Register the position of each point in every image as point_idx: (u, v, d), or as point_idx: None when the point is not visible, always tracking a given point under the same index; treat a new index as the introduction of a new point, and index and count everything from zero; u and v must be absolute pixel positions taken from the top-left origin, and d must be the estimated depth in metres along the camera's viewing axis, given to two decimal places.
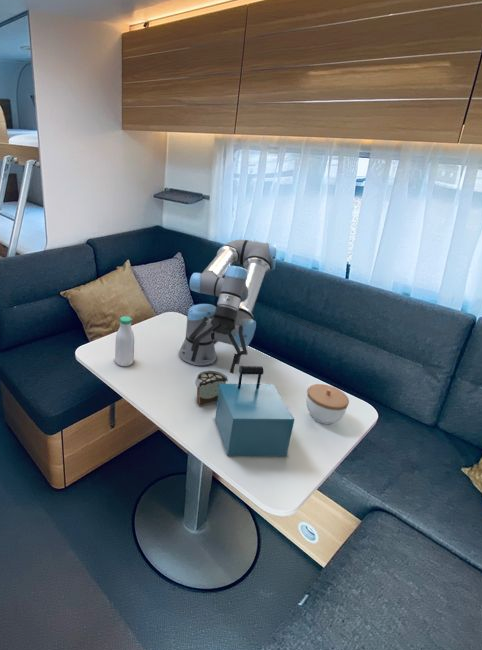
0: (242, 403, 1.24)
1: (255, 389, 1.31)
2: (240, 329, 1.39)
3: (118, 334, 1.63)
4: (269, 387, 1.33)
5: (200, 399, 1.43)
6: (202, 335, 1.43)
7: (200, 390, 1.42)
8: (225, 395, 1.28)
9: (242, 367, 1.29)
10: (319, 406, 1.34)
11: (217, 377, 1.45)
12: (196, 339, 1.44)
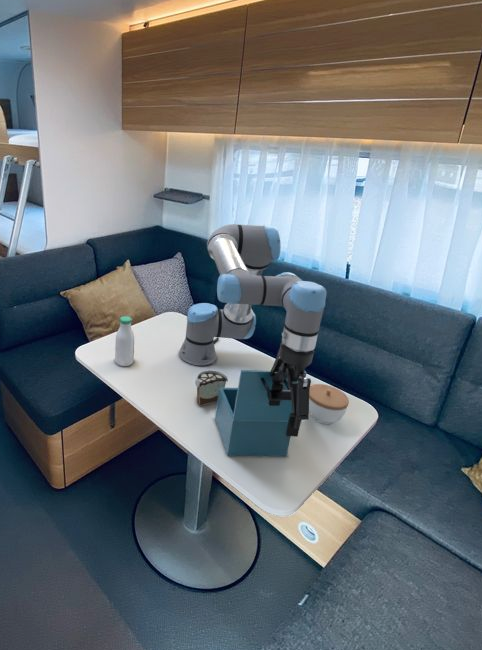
0: (253, 401, 1.15)
1: None
2: (298, 384, 0.95)
3: (118, 334, 1.63)
4: None
5: (200, 399, 1.43)
6: (276, 376, 1.07)
7: (200, 390, 1.42)
8: (240, 390, 1.14)
9: (272, 399, 1.05)
10: (319, 406, 1.34)
11: (217, 377, 1.45)
12: (273, 379, 1.09)
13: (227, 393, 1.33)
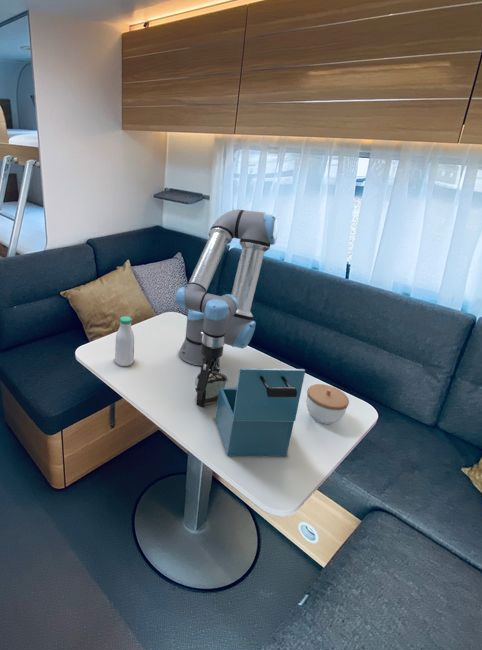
0: (253, 400, 1.16)
1: (279, 379, 1.13)
2: None
3: (118, 334, 1.63)
4: (297, 375, 1.13)
5: None
6: None
7: None
8: (240, 389, 1.14)
9: (271, 396, 1.06)
10: (319, 406, 1.34)
11: (217, 377, 1.45)
12: None
13: (227, 393, 1.33)
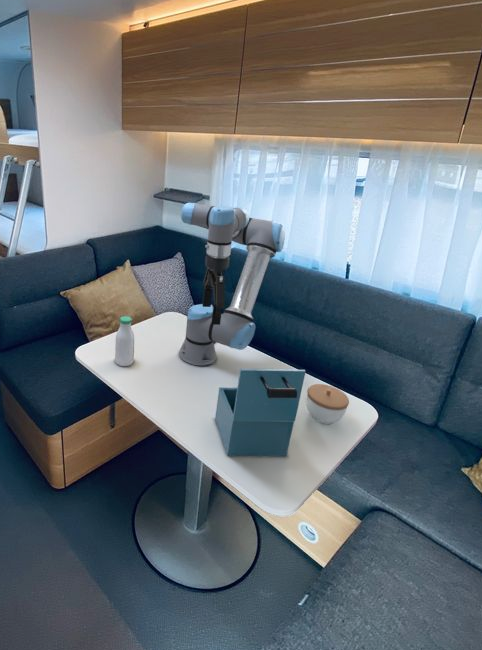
0: (253, 400, 1.15)
1: (279, 380, 1.13)
2: (216, 280, 1.27)
3: (118, 334, 1.63)
4: (298, 376, 1.13)
5: None
6: (206, 282, 1.40)
7: None
8: (240, 389, 1.14)
9: (271, 396, 1.05)
10: (319, 406, 1.34)
11: None
12: (204, 285, 1.43)
13: (227, 393, 1.33)
